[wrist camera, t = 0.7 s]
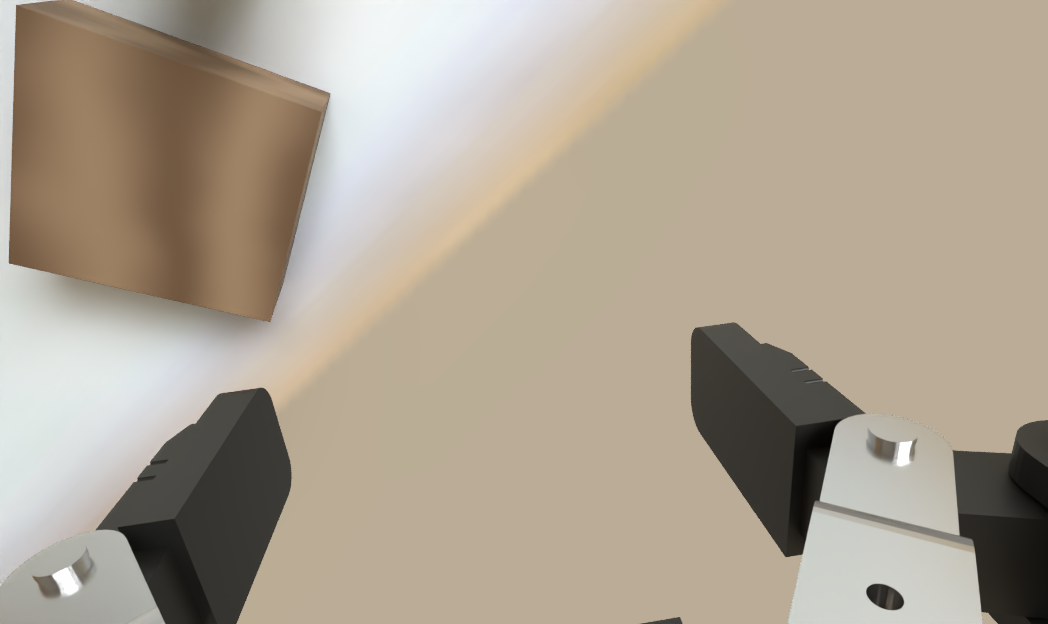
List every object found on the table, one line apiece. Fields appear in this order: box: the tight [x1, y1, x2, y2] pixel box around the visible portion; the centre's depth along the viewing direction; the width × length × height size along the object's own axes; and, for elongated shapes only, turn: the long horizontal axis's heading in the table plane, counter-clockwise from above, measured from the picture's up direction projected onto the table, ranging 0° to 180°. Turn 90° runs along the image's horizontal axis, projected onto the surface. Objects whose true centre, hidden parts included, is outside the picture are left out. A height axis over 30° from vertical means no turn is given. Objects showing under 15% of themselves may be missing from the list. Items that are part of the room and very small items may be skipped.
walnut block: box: [9, 0, 330, 322], centre depth 31 cm, size 12×12×5 cm
